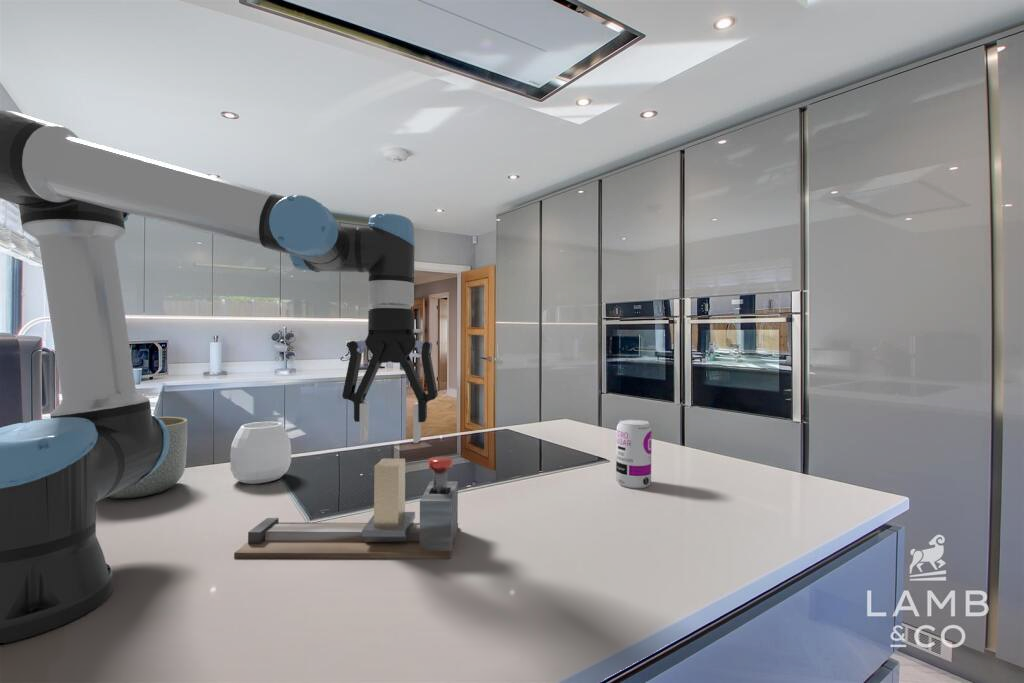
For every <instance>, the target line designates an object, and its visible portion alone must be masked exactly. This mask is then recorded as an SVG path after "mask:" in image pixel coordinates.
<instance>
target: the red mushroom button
mask: <svg viewBox="0 0 1024 683" xmlns="http://www.w3.org/2000/svg"><path fill="white" fill-rule="evenodd" d="M427 462H428V464H427V465H428V469H430V470H432V481H433V494H447V482H448V470H449V469H451V468H453V458H452V457H449V456H434V457H430V458H429V459H428V461H427Z"/></svg>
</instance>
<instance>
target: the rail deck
mask: <svg viewBox="0 0 1024 683" xmlns="http://www.w3.org/2000/svg"><path fill="white" fill-rule="evenodd" d="M458 487H459V482H458V481H447V494H433V480H432V481H429V483H428V484H427V487H426V489H425V490H424V493H423V495H422V496H421V498H420V500H419V522H413V525H411V526H410V528H409V530H408V541H407V542H365V536H362V530H363V528H364V527H365V526H366V524H367V523H368V522H306V521H305V522H302V521H301V522H299V521H298V522H294V521H293V522H289V521H288V522H287V521H285V522H284V521H282V522H279V517H267V518H265V519H263V520H262V521H261V522H259V523H258V524H257V525H256V526H254V527H253V528H252V529H250V530H249V531H247V542H246V543H244V544H243V545H242V546H241V547H240V548H238V549H237V550H235V552H234V553H233V556H234V557H233V558H234V559H235V558H236V559H418V560H419V559H423V560H424V559H433V560H434V559H438V560H439V559H442V560H443V559H444V560H445V559H451V557H452V556H451V555H452V552H453V548H454V545H455V542H456V537H457V532H458V529H459V523H458V518H459V516H458V513H459V512H458V509H459V507H458V506H459V504H458V503H459V500H458V498H459V488H458Z"/></svg>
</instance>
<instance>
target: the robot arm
mask: <svg viewBox="0 0 1024 683" xmlns="http://www.w3.org/2000/svg"><path fill="white" fill-rule="evenodd" d="M0 199H1V200H5V201H7V202H9V203H12V204H15V205H18V209H19V215H20V224H21V228H22V230H23V232H25V233H27V234H28V235H30V236H32V237H33V238H35V239H36V240H37V241H38V245H39V250H40V251H39V252H40V259H41V264H42V272H43V278H44V285H45V292H46V299H47V305H48V312H49V318H50V325H51V331H52V337H53V345H54V353H55V358H56V366H57V372H58V378H59V379H58V380H59V385H60V393H61V399H62V400H61V401H60V403H59V404H58V405H57V406H56V408H54V409H53V410H52V411H51V412H50V414H49V415H50V416H49V417H50V418H43V419H40V418H39V419H35V420H31V421H28V422H19V423H14V424H9V425H6V426H2V427H0V643H4V644H8V643H12V642H15V641H19V640H23V639H24V640H25V639H27V638H30V637H33V636H36V635H39V634H42V633H44V632H45V633H46V632H48V631H51V630H53V629H56V628H58V627H62V626H63V625H65V624H68V623H70V622H72V621H74V620H76V619H78V618H80V617H83V616H84V615H86V614H88V613H89V612H91V611H93V610H94V609H96V608H97V607H98V606H100V605H101V604H103V603H104V602H105V601H106V600H107V599H108V598H109V597H110V595H111V594H112V592H113V590H114V573H113V569H112V567H111V566H110V564H108V563H107V561H106V557H105V554H104V552H103V548H102V547H101V544H100V542H99V540H98V538H97V516H96V515H97V502H100V501H101V500H103V499H105V498H107V497H109V495H111V494H113V493H115V492H118V491H120V490H122V489H124V488H128V487H130V486H132V485H134V484H137V483H138V482H140V481H142V480H143V479H144V478H146V477H147V476H148V475H150V474H151V473H153V472H154V471H155V470H156V469H157V468H158V467H159V466H160V465H161V464H162V462H163V461H164V459H165V457H166V455H167V453H168V450H169V445H170V436H169V432H168V429H167V427H166V425H165V424H164V422H163V421H162V420H160V419H158V418H157V417H158V416H157V415H156V414H154V413H152V409H151V402H150V398H149V397H148V396H146V395H145V394H142V393H141V392H139V391H138V390H137V388H136V383H135V382H136V381H135V375H134V374H135V373H134V366H133V360H132V353H131V347H130V340H129V333H128V326H127V319H126V312H125V306H124V299H123V292H122V285H121V278H120V277H121V276H120V270H119V264H118V263H119V262H118V256H117V251H116V243H117V241H118V240H120V239H121V238H122V237H123V236H124V235H125V234H126V227H125V223H126V221H128V219H129V218H128V217H129V216H130V215H135V216H140V217H143V218H147V219H151V220H156V221H159V222H162V223H163V222H164V223H167V224H171V225H175V226H178V227H182V228H187V229H191V230H195V231H199V232H203V233H207V234H211V235H215V236H219V237H222V238H227V239H230V240H235V241H239V242H242V243H246V244H250V245H255V246H258V247H261V248H267V249H269V250H272V251H276V252H280V253H285V254H288V255H289V258H290V261H291V262H292V263H291V264H292V265H293V267H294V268H296V269H297V270H300V271H311V272H315V273H320V272H341V273H343V272H344V273H347V272H349V273H351V272H352V273H368V300H367V304H368V305H369V306H370V307H371V308H369V310H368V311H367V312H368V318H367V320H368V322H367V323H368V324H367V325H368V326H367V327H368V328H367V329H368V330H367V332H368V333H367V336H366V338H365V339H364V340H359V341H358V340H351V341H349V342H348V347H349V358H348V359H349V360H348V361H349V362H348V365H347V371H346V376H345V380H344V386H343V390H342V395H341V396H342V399H344V400H348V401H351V402H352V403H353V420H354V423H356V422H357V423H358V422H359V441H358V443H361V444H362V443H365V442H367V441H368V440H369V439H370V438H369V437H370V402H369V401H366V397H367V395H368V393H369V390H370V389H371V386H372V384H373V382H374V379H375V377H376V375H377V373H378V371H379V368H380V367H381V365H382V364H384V363H394V364H400V367H401V368H402V369H403V371H404V373H405V376H406V378H407V380H408V382H409V384H410V387H411V389H412V391H413V393H414V396H415V397H416V400H417V401H416V402H414V403H413V407H412V408H413V409H412V410H413V411H412V412H413V416H412V418H413V419H412V421H413V422H412V423H413V424H412V427H413V428H412V430H413V432H412V436H413V437H412V438H413V439H412V443H414V444H417V443H420V441H421V437H422V436H421V435H422V434H421V433H422V432H421V431H422V430H421V428H422V423H425V422H426V421H427V417H428V402H430V401H433V400H435V399H437V397H438V396H439V393H438V389H437V384H436V382H437V381H436V378H435V376H436V375H435V372H434V371H435V370H434V366H433V361H432V356H431V355H432V350H433V344H432V341H421V340H417V338H416V337H415V333H414V332H415V324H414V323H415V317H414V316H415V312H414V311H413V310H412V309H411V308H412V307H413V306H414V305H415V281H414V279H415V250H416V248H415V228H414V226H415V225H414V223H413V222H412V220H411V219H410V218H409V217H406V216H405V215H401V214H395V213H376V214H373V215H371V216H370V217H369V219H368V224H367V226H362V227H361V226H344V225H342V226H341V224H339V223H338V221H337V219H336V218H335V217H334V215H333V214H332V213H331V212H332V211H330V210H329V208H327V207H326V206H324V204H322V203H321V202H319V201H317V200H316V199H315V198H312V197H311V196H307V195H303V194H296V195H295V194H293V195H289V196H284V195H280V194H276V193H274V192H270V191H266V190H262V189H258V188H255V187H252V186H247V185H244V184H241V183H237V182H234V181H229V180H228V179H224V178H220V177H215V176H212V175H208V174H205V173H201V172H197V171H193V170H190V169H187V168H183V167H180V166H176V165H172V164H169V163H165V162H162V161H157V160H154V159H150V158H146V157H144V156H139V155H136V154H132V153H129V152H125V151H121V150H118V149H114V148H112V147H107V146H105V145H101V144H100V145H99V144H96V143H92V142H89V141H87V140H83V139H80V137H79V136H78V135H77V134H76V133H75V132H74V131H72V130H70V129H69V128H67V127H65V126H62V125H59V124H55V123H51V122H48V121H46V120H45V121H44V120H41V119H38V118H35V117H32V116H28V115H27V114H22V113H20V112H17V111H12V110H6V109H0ZM366 347H367V349H368V350H369V352H370V353H371V354H372V356H371V358H370V360H369V363H368V366H367V368H366V370H365V372H364V375H363V377H362V380H361V381H360V382H359V385H358V387H357V383H358V379H359V378H358V377H359V372H360V368H361V362H362V357H363V353H364V352H365V350H366ZM415 347H416V348H417V352H418V354H419V355H420V354H421V355H420V356H421V357H420V358H421V362H422V368H423V374H424V379H425V380H424V381H425V385H426V390H427V393H426V391H425V389H424V386H423V384H422V382H421V380H420V377H419V376H418V374H417V371H416V369H415V367H414V364H413V361H412V359H411V356H410V355H411V353H412V351H413V350H414V349H415ZM356 387H357V390H356ZM7 642H8V643H7Z"/></svg>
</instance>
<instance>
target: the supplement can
mask: <svg viewBox="0 0 1024 683" xmlns="http://www.w3.org/2000/svg"><path fill="white" fill-rule="evenodd" d="M652 430H653V429H652V427H651V426H650V423H649V421H647V420H642V419H631V418H630V419H629V418H628V419H620V420H618V423H617V425H616V439H615V440H616V441H615V442H616V445H615V447H616V450H615V451H616V452H615V454H616V455H615V456H616V458H615V459H616V460H615V461H616V462H615V463H616V465H615V466H616V467H615V481H616V482H617V483H618V485H620V486H622V487H624V488H628V489H639V490H640V489H645V488H648V487H649V485H651V483H652V436H653V435H652V434H653V433H652Z"/></svg>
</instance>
